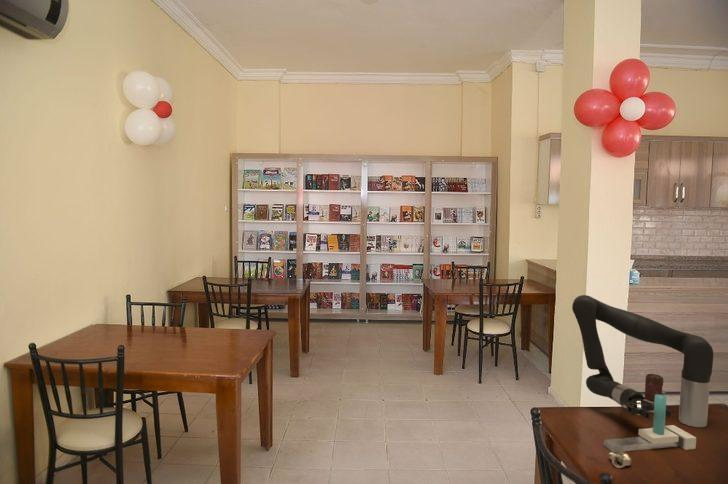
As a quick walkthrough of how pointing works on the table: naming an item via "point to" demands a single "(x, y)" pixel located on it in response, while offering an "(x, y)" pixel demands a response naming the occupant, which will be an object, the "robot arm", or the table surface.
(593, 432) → the table surface
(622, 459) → the silver metal fitting
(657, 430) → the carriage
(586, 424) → the table surface
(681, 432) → the end stop
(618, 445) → the rail
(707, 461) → the table surface
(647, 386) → the can
